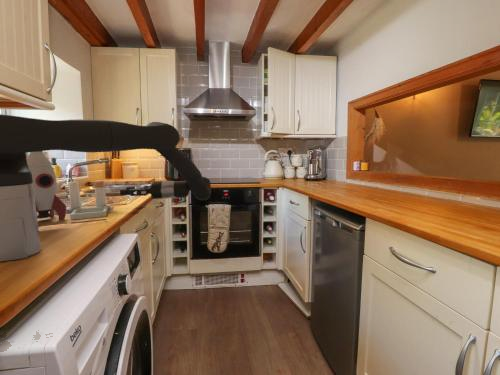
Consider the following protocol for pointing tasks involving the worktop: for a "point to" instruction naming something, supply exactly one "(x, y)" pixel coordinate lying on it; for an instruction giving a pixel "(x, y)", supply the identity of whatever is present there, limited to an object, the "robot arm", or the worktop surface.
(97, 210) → the tray
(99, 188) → the cylinder
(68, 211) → the holder
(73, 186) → the cylinder
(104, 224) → the worktop surface
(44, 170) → the toy
